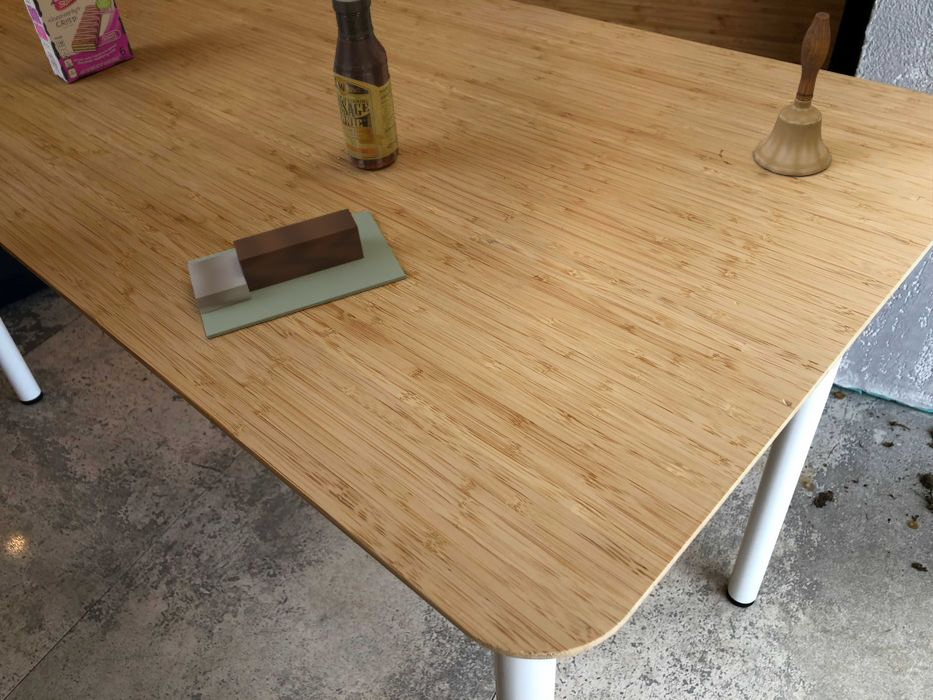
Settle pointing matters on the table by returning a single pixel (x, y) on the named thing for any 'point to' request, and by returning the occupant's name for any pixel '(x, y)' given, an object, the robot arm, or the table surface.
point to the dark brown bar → (275, 259)
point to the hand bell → (800, 115)
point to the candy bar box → (80, 35)
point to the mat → (311, 284)
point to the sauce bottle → (363, 88)
